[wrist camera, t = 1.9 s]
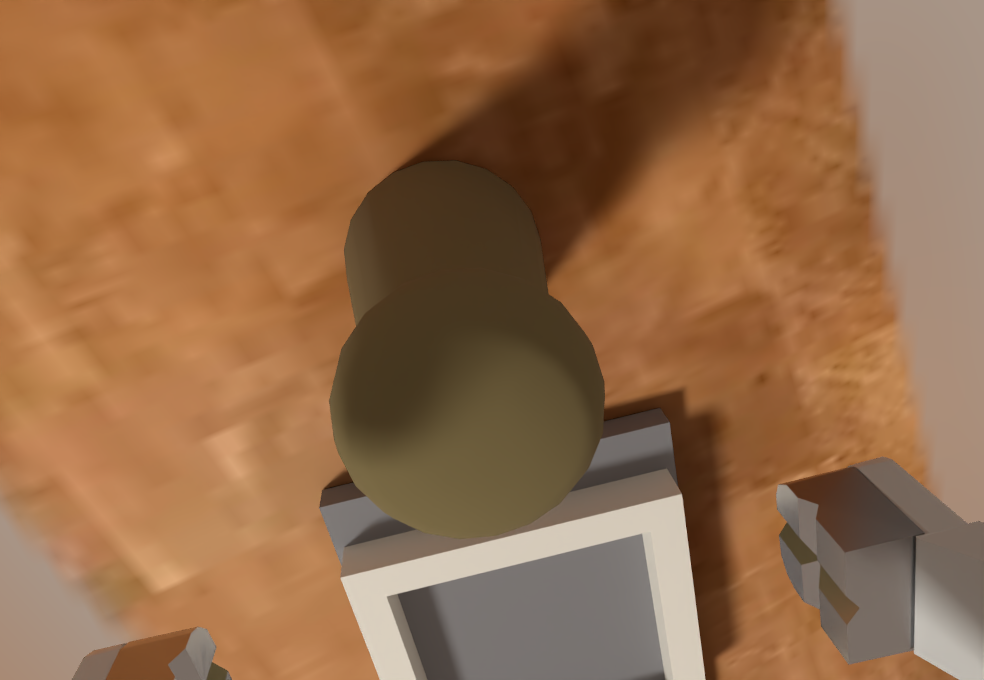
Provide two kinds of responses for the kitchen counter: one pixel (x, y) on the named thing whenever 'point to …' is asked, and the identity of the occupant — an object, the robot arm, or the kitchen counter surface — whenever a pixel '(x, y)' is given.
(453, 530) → the olive knobbed peg
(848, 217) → the kitchen counter surface
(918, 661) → the kitchen counter surface
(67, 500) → the kitchen counter surface
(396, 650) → the notch board
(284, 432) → the kitchen counter surface
